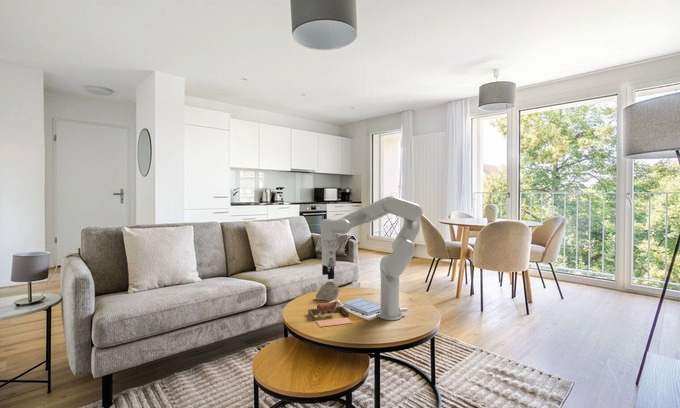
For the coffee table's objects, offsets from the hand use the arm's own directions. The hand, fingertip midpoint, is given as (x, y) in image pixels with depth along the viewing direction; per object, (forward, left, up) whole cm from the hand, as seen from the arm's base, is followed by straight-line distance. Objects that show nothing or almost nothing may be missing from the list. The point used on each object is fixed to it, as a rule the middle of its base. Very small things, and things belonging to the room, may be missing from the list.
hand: (328, 276), depth 164 cm
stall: (-1, -1, -21) cm, 21 cm away
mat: (-1, +8, -21) cm, 22 cm away
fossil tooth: (-8, -27, -21) cm, 35 cm away
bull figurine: (-1, -1, -21) cm, 21 cm away
